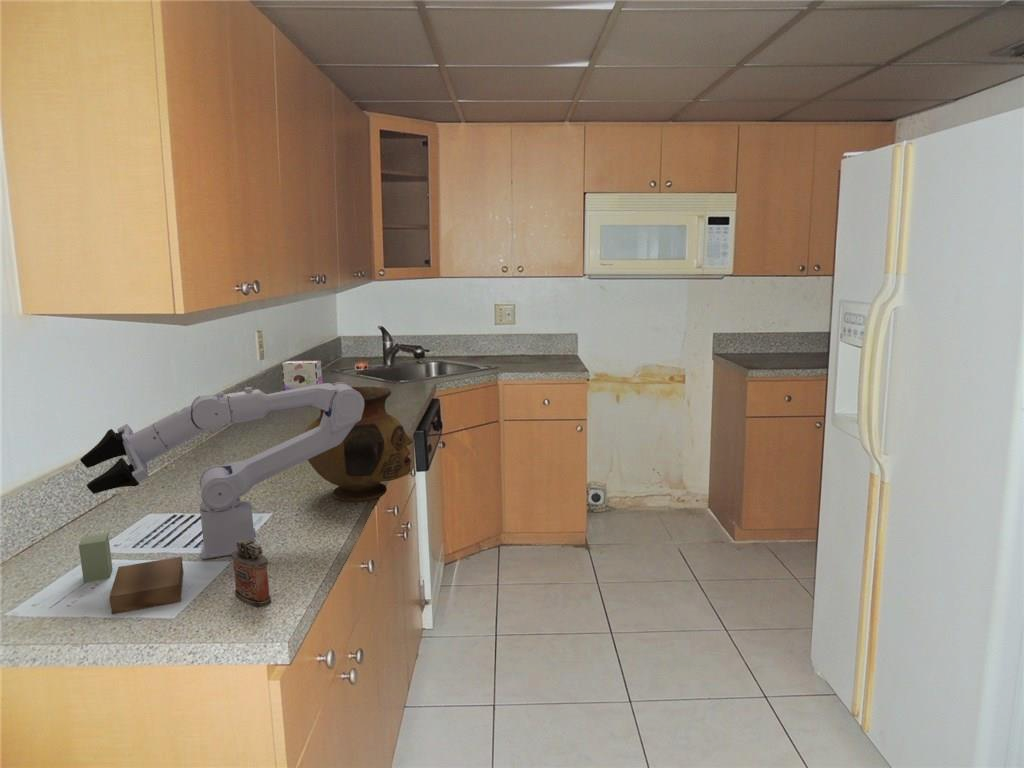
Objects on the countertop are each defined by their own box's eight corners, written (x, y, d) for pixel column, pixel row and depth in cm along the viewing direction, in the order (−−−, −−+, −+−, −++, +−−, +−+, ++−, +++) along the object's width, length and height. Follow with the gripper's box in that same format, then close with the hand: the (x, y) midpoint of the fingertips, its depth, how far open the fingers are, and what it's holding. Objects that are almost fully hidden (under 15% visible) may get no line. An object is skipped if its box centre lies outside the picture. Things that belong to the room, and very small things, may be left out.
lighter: (230, 595, 118) (224, 539, 116) (248, 588, 120) (243, 532, 118) (257, 610, 113) (252, 551, 111) (276, 601, 115) (271, 544, 113)
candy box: (324, 401, 276) (321, 360, 273) (318, 404, 270) (316, 362, 267) (290, 401, 277) (287, 360, 274) (284, 404, 272) (281, 362, 269)
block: (112, 569, 129) (108, 533, 127) (109, 578, 125) (105, 541, 124) (87, 573, 127) (82, 536, 126) (83, 582, 123) (78, 545, 122)
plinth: (183, 572, 127) (181, 556, 126) (180, 601, 116) (178, 584, 115) (120, 582, 123) (118, 566, 122) (111, 614, 112) (109, 596, 112)
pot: (347, 475, 184) (343, 380, 180) (428, 484, 175) (425, 385, 171) (284, 504, 161) (277, 396, 157) (373, 516, 152) (369, 402, 148)
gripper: (141, 400, 131) (67, 438, 127) (159, 445, 121) (79, 487, 117) (160, 426, 136) (90, 463, 132) (179, 471, 126) (103, 512, 122)
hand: (86, 476), depth 125 cm, fingers open, 7 cm apart
